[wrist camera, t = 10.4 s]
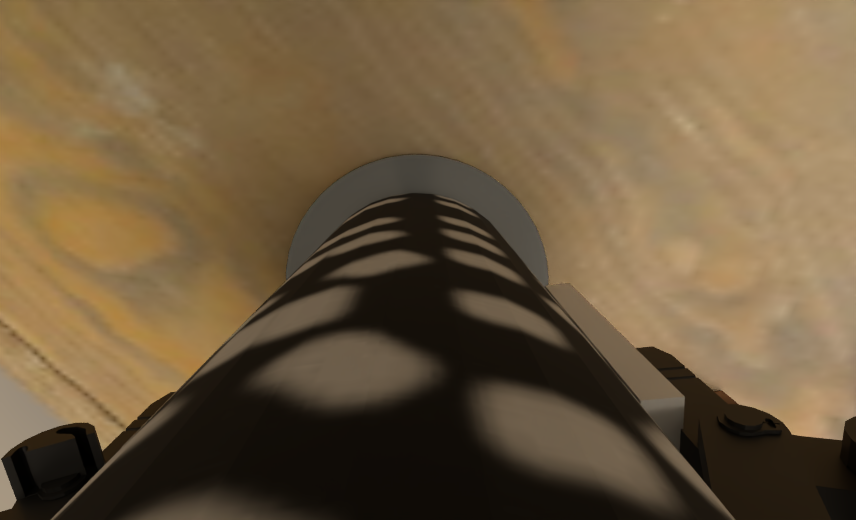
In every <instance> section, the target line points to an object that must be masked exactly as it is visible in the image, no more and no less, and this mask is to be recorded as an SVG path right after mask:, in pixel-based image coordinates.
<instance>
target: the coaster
mask: <svg viewBox="0 0 856 520" xmlns="http://www.w3.org/2000/svg"><path fill="white" fill-rule="evenodd" d="M407 193H424V194H435V195H439V196H443V197H447V198H451V199H454V200H456V201H458V202H460V203H463V204H465V205H467V206H469V207H471V208H473V209H474V210H476V211H477V212H478V213H479V214H481V215H482V216H483V217H485V218H486V219H487V220H489V221H490V222H491V224H492V225H493V226H494V227H495V228H496V229H497V230H498V232H499V233H500V234H501V235H502V236H503V237H504V239H505V240H506V241H507V242H508V243H509V245H510V246H511V247H512V248H513V250H514V251H515V252H516V253H517V254H518V256H519V257H520V258H521V259H522V261H523V262H524V263H525V264H526V265H527V267H528V268H529V269H530V270H531V272H532V273H533V274H534V275H535V276H536V278H537V279H538V280H539V281H540V282H541V284H542V285H543V286H544V287H545V285H548V268H547V259H546V255H545V251H544V247H543V243H542V241H541V238H540V236H539V233H538V231H537V228H536V226H535V225H534V223H533V221H532V219H531V218H530V216H529V214H528V213H527V211H526V210H525V209H524V207H523V206H522V205H521V203H520V202H519V201H518V200H517V199H516V198H515V197H514V196H513V195H512V194H511V193H510V192H509V191H508V190H507V189H506V188H505V187H504V186H503V185H501V184H500V183H499V182H497V181H496V180H495V179H493V178H492V177H491V176H489V175H487V174H485V173H484V172H482V171H480V170H478V169H476V168H475V167H473V166H470V165H467V164H465V163H462V162H460V161H457V160H453V159H449V158H445V157H441V156H433V155H423V154H416V155H400V156H394V157H388V158H384V159H381V160H378V161H374V162H371V163H368V164H366V165H364V166H362V167H360V168H357V169H355V170H353V171H351V172H349V173H348V174H346V175H345V176H343V177H342V178H340V179H339V180H337V181H336V182H334V183H333V184H332V185H331V186H330V187H329V188H327V189H326V190H325V191H324V192H323V193H322V194H321V195H320V196H319V197H318V198H317V200H316V201H315V202H314V203H313V204H312V205H311V207H310V208H309V210H308V211H307V213H306V214H305V216H304V217H303V219H302V220H301V222H300V224H299V226H298V229H297V231H296V233H295V235H294V237H293V241H292V244H291V247H290V250H289V255H288V261H287V267H286V280H287V279H288V278H289V277H290V276H291V275H292V274H293V273H294V272H295V271H296V270H297V269H298V268H299V267H300V266H301V265H302V264H303V263H304V262H305V261H306V260H307V259H308V258H309V257H310V256H311V255H312V254H313V253H314V252H315V250H316V249H317V248H318V247H319V246H320V245H321V244H322V243H323V242H324V241H325V240H326V239H327V238H328V237H329V236H330V235H331V234H332V233H333V232H334V231H335V230H336V229H337V228H338V227H339V226H340V225H341V224H342V223H344V222H345V221H346V220H347V219H348V218H349V217H350V216H351V215H352V214H353V213H355V212H357V211H358V210H360V209H362V208H363V207H365V206H367V205H368V204H370V203H372V202H375V201H378V200H381V199H384V198H386V197H389V196H393V195H400V194H407Z"/></svg>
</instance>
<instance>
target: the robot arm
mask: <svg viewBox="0 0 856 520" xmlns="http://www.w3.org/2000/svg"><path fill="white" fill-rule="evenodd" d="M545 289H546V290H547V291H548V292H549V293H550V295H551V296H552V297H553V298H554V300H555V301H556V302H557V303H558V304H559V306H560V307H561V308H562V309H563V310H564V312H565V313H566V314H567V315H568V317H569V318H570V319H571V320H572V321H573V323H574V324H575V325H576V326H577V328H578V329H579V330H580V331H581V332H582V334H583V335H584V336H585V337H586V338H587V340H588V341H589V342H590V343H591V345H592V346H593V347H594V348H595V349H596V351H597V352H598V353H599V354H600V356H601V357H602V358H603V359H604V360H605V362H606V363H607V364H608V365H609V366H610V368H611V369H612V370H613V371H614V373H615V374H616V375H617V376H618V377H619V379H620V380H621V381H622V382H623V384H624V385H625V386H626V387H627V388H628V390H629V391H630V392H631V393H632V394H633V396H634V397H635V398H636V399H637V401H638V402H639V403H640V404H641V405H642V407H643V408H644V409H645V410H646V412H647V413H648V414H649V415H650V416H651V418H652V419H653V420H654V421H655V422H656V424H657V425H658V426H659V427H660V429H661V430H662V431H663V432H664V433H665V435H666V436H667V437H668V438H669V440H670V441H671V442H672V443H673V444H674V446H675V447H676V448H677V449H678V450H679V452H680V453H681V454H682V455H683V457H684V458H685V459H686V460H687V461H688V463H689V464H690V465H691V466H692V468H693V469H694V470H695V471H696V472H697V474H698V475H699V476H700V477H701V478H702V480H703V481H704V482H705V483H706V485H707V486H708V487H709V488H710V489H711V491H712V492H713V493H714V494H715V496H716V497H717V498H718V499H719V500H720V502H721V503H722V504H723V505H724V506H725V508H726V509H727V510H728V511H729V513H730V514H731V515H732V516H733V517H734V519H735V520H856V417H853V418H851V419H849V420H847V421H845V427H844V433H843V440H832V439H823V438H813V437H804V436H797V435H791V432H790V431H789V430H788V428H787V427H786V426H785V425H784V424H783V422H781V421H780V420H778V419H777V418H775V417H773V416H772V415H770V414H768V413H766V412H763V411H760V410H758V409H755V408H752V407H747V406H743V405H738V404H728V403H726V402H725V401H724V400H723V399H722V398H721V397H720V396H718V395H717V394H716V393H715V392H714V391H713V390H711V389H710V388H709V387H708V386H707V385H706V384H705V383H703V382H702V381H701V380H700V379H699V378H696V377H695V375H694V374H693V373H692V372H691V371H690V370H688V369H687V368H686V369H685V366H684V365H683V364H682V363H680V362H679V361H678V360H677V359H676V358H675V357H673V356H672V355H670V354H668V353H666V352H664V351H661V350H659V349H657V348H655V347H643V348H635V347H634V346H633V345H632V344H631V343H630V342H629V341H628V340H627V339H626V338H625V337H624V336H623V335H622V334H621V333H620V332H618V331H617V330H616V329H615V328H614V327H613V326H612V325H611V324H610V323H609V322H608V321H607V320H606V319H605V318H604V317H603V316H602V315H601V314H600V313H599V312H598V311H597V310H596V309H595V308H594V307H593V306H592V305H591V304H590V303H589V302H588V301H587V300H586V299H585V298H584V297H583V296H582V295H581V294H580V293H579V292H578V291H577V290H576V289H575V288H574V287H573V286H572V285H571V284H570V283H566V284H556V285H545ZM253 314H254V313H253ZM253 314H252V315H253ZM252 315H251V316H252ZM251 316H250V317H251ZM250 317H249V318H250ZM249 318H248V319H249ZM248 319H247V320H248ZM247 320H246V321H247ZM246 321H245V322H246ZM245 322H244V323H245ZM244 323H243V324H244ZM243 324H242V325H243ZM242 325H241V326H242ZM241 326H240V327H241ZM240 327H239V328H240ZM239 328H238V329H239ZM238 329H237V330H238ZM197 371H198V370H197ZM197 371H196V372H197ZM196 372H195V373H196ZM195 373H194V374H195ZM194 374H193V375H194ZM193 375H192V376H193ZM192 376H191V377H192ZM191 377H190V378H191ZM190 378H189V379H190ZM189 379H188V380H189ZM188 380H187V381H188ZM187 381H186V382H187ZM186 382H185V383H186ZM185 383H184V384H185ZM184 384H183V385H184ZM183 385H182V386H183ZM182 386H181V387H182ZM181 387H180V388H181ZM180 388H179V389H180ZM179 389H178V390H179ZM178 390H177V391H178ZM177 391H176V392H177ZM176 392H171V393H169V394H167V395H166V396H164V397H162V398H161V399H159V400H157V401H156V402H154V403H152V404H151V405H150V406H149V407H148V408H147V409H146V410H145V411H144V412H143V413H142V414H141V415H140V416H139V417H137V418H138V419H137V420H134V421H133V422H132V423H131V424H130V425H129V426H128V427H127V428H126V431H123V432H122V433H121V434H120V435H119V436H118V437H117V438H116V439H115V440H114V441H113V442H112V443H111V444H110V445H109V446H108V447H106V448H105V449H104V450H103V451H102V449H101V446H100V443H99V440H98V437H97V433H96V430H95V427H94V426H93V425H91V424H89V423H73V424H68V425H63V426H59V427H56V428H53V429H50V430H47V431H44V432H41V433H40V434H37V435H35V436H33V437H31V438H29V439H27V440H25V441H23V442H22V443H20V444H18V445H17V446H15V447H14V448H12V449H11V450H10V451H9V452H8V453H7V454H6V455H5V456H4V457H3V458H2V459H1V460H2V462H3V465H4V468H5V470H6V473H7V475H8V478H9V481H10V483H11V486H12V489H13V491H14V494H15V497H16V499H17V501H16V503H15V504H14V506H13V508H12V509H9V510H6V511H2V512H0V520H51V519H52V518H53V517H54V516H55V515H56V514H57V513H58V512H59V511H60V510H61V509H62V508H63V507H64V506H65V505H66V504H67V503H68V502H69V501H70V500H71V499H72V498H73V497H74V496H75V495H76V494H77V493H78V492H79V491H80V490H81V488H82V487H83V486H84V485H85V484H86V483H87V482H88V481H89V480H90V479H91V478H92V477H93V476H94V475H95V474H96V473H97V472H98V471H99V470H100V469H101V468H102V467H103V466H104V465H105V464H106V463H107V462H108V461H109V460H110V459H111V458H112V457H113V456H114V455H115V454H116V453H117V452H118V451H119V450H120V449H121V448H122V447H123V446H124V445H125V444H126V443H127V442H128V441H129V440H130V439H131V438H132V437H133V436H134V435H135V434H136V433H137V432H138V431H139V430H140V428H141V427H142V426H143V425H144V424H145V423H146V422H147V421H148V420H149V419H150V418H151V417H152V416H153V415H154V414H155V413H156V412H157V411H158V410H159V409H160V408H161V407H162V406H163V405H164V404H165V403H166V402H167V401H168V400H169V399H170V398H171V397H172V396H173V395H174V394H175V393H176Z"/></svg>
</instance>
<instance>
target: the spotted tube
mask: <svg viewBox="0 0 856 520" xmlns="http://www.w3.org/2000/svg"><path fill="white" fill-rule="evenodd" d="M51 520H735V519H734V517H733V516H732V515H731V514H730V513H729V511H728V510H727V509H726V508H725V506H724V505H723V504H722V503H721V502H720V500H719V499H718V498H717V497H716V496H715V494H714V493H713V492H712V491H711V489H710V488H709V487H708V486H707V485H706V483H705V482H704V481H703V480H702V478H701V477H700V476H699V475H698V474H697V472H696V471H695V470H694V469H693V468H692V466H691V465H690V464H689V463H688V461H687V460H686V459H685V458H684V457H683V455H682V454H681V453H680V452H679V450H678V449H677V448H676V447H675V446H674V444H673V443H672V442H671V441H670V440H669V438H668V437H667V436H666V435H665V433H664V432H663V431H662V430H661V429H660V427H659V426H658V425H657V424H656V422H655V421H654V420H653V419H652V418H651V416H650V415H649V414H648V413H647V412H646V410H645V409H644V408H643V407H642V405H641V404H640V403H639V402H638V401H637V399H636V398H635V397H634V396H633V394H632V393H631V392H630V391H629V390H628V388H627V387H626V386H625V385H624V384H623V382H622V381H621V380H620V379H619V377H618V376H617V375H616V374H615V373H614V371H613V370H612V369H611V368H610V366H609V365H608V364H607V363H606V362H605V360H604V359H603V358H602V357H601V356H600V354H599V353H598V352H597V351H596V349H595V348H594V347H593V346H592V345H591V343H590V342H589V341H588V340H587V338H586V337H585V336H584V335H583V334H582V332H581V331H580V330H579V329H578V328H577V326H576V325H575V324H574V323H573V321H572V320H571V319H570V318H569V317H568V315H567V314H566V313H565V312H564V310H563V309H562V308H561V307H560V306H559V304H558V303H557V302H556V301H555V300H554V298H553V297H552V296H551V295H550V293H549V292H548V291H547V290H546V289H545V287H544V286H543V285H542V284H541V282H540V281H539V280H538V279H537V278H536V276H535V275H534V274H533V273H532V272H531V270H530V269H529V268H528V267H527V265H526V264H525V263H524V262H523V261H522V259H521V258H520V257H519V256H518V254H517V253H516V252H515V251H514V250H513V248H512V247H511V246H510V245H509V243H508V242H507V241H506V240H505V239H504V237H503V236H502V235H501V234H500V233H499V232H498V230H497V229H496V228H495V227H494V226H493V225H492V224H491V222H490V221H489V220H487V219H486V218H485V217H483V216H482V215H481V214H479V213H478V212H477V211H476V210H474V209H473V208H471V207H469V206H467V205H465V204H463V203H460V202H458V201H456V200H454V199H451V198H447V197H443V196H439V195H435V194H424V193H407V194H400V195H393V196H389V197H386V198H384V199H381V200H378V201H375V202H372V203H370V204H368V205H367V206H365V207H363V208H362V209H360V210H358V211H357V212H355V213H353V214H352V215H351V216H350V217H349V218H348V219H347V220H346V221H345V222H344V223H342V224H341V225H340V226H339V227H338V228H337V229H336V230H335V231H334V232H333V233H332V234H331V235H330V236H329V237H328V238H327V239H326V240H325V241H324V242H323V243H322V244H321V245H320V246H319V247H318V248H317V249H316V250H315V252H314V253H313V254H312V255H311V256H310V257H309V258H308V259H307V260H306V261H305V262H304V263H303V264H302V265H301V266H300V267H299V268H298V269H297V270H296V271H295V272H294V273H293V274H292V275H291V276H290V277H289V278H288V279H287V280H286V281H285V282H284V283H283V284H282V285H281V286H280V287H279V288H278V289H277V290H276V291H275V292H274V293H273V294H272V295H271V296H270V297H269V298H268V299H267V300H266V301H265V302H264V303H263V304H262V305H261V306H260V307H259V308H258V309H257V310H256V312H255V313H254V314H253V315H252V316H251V317H250V318H249V319H248V320H247V321H246V322H245V323H244V324H243V325H242V326H241V327H240V328H239V329H238V330H237V331H236V332H235V333H234V334H233V335H232V336H231V337H230V338H229V339H228V340H227V341H226V342H225V343H224V344H223V345H222V346H221V347H220V348H219V349H218V350H217V351H216V352H215V353H214V354H213V355H212V356H211V357H210V358H209V359H208V360H207V361H206V362H205V363H204V364H203V365H202V366H201V367H200V368H199V369H198V371H197V372H196V373H195V374H194V375H193V376H192V377H191V378H190V379H189V380H188V381H187V382H186V383H185V384H184V385H183V386H182V387H181V388H180V389H179V390H178V391H177V392H176V393H175V394H174V395H173V396H172V397H171V398H170V399H169V400H168V401H167V402H166V403H165V404H164V405H163V406H162V407H161V408H160V409H159V410H158V411H157V412H156V413H155V414H154V415H153V416H152V417H151V418H150V419H149V420H148V421H147V422H146V423H145V424H144V425H143V426H142V427H141V428H140V430H139V431H138V432H137V433H136V434H135V435H134V436H133V437H132V438H131V439H130V440H129V441H128V442H127V443H126V444H125V445H124V446H123V447H122V448H121V449H120V450H119V451H118V452H117V453H116V454H115V455H114V456H113V457H112V458H111V459H110V460H109V461H108V462H107V463H106V464H105V465H104V466H103V467H102V468H101V469H100V470H99V471H98V472H97V473H96V474H95V475H94V476H93V477H92V478H91V479H90V480H89V481H88V482H87V483H86V484H85V485H84V486H83V487H82V488H81V490H80V491H79V492H78V493H77V494H76V495H75V496H74V497H73V498H72V499H71V500H70V501H69V502H68V503H67V504H66V505H65V506H64V507H63V508H62V509H61V510H60V511H59V512H58V513H57V514H56V515H55V516H54V517H53V518H52V519H51Z"/></svg>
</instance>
